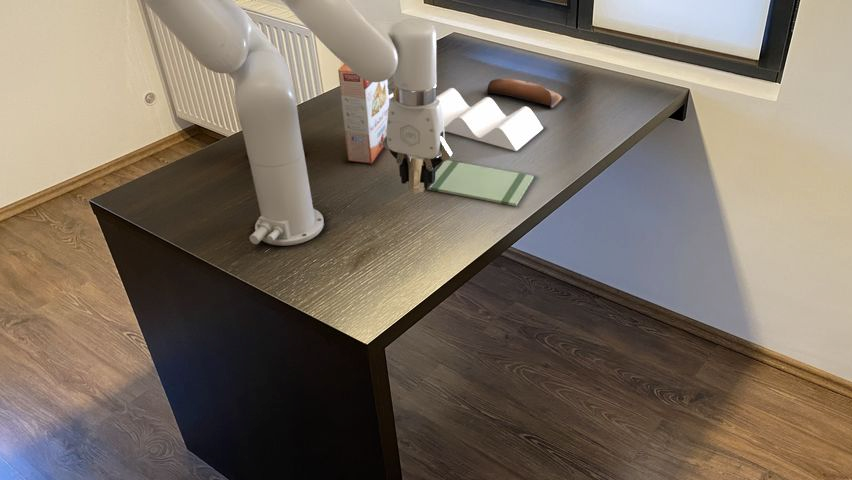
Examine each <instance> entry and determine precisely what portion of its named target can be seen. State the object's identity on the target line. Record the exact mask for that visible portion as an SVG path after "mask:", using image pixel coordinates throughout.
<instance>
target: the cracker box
mask: <svg viewBox="0 0 852 480" xmlns="http://www.w3.org/2000/svg"><path fill="white" fill-rule="evenodd" d="M337 71H338V81H339V89H340V91H339V92H340V98H341V99H340V100H341V109H342V117H343V118H342V119H343V125H344V126H343V127H344V135H345V144H346V153H347V160H348V162H356V163H363V164H370V165H371V164H373V163H374V161H375V160H376V158H377V157H378V155H379V154H380V153H381V151H382V150H383V149H384V148H385V147H384V146H383V145H382V142H383V140H384V139H385V137H386V136H387V118H388V109H389V95H390V94H389V89H388V87H387V85H388V82H389V81H388V80H389V79H387V80H385V81H382V82H370V81H366V80H364V79H362V78H361V77H359V76H358V75H357V74H356V73H354V72H353V71H352V70H351V69H350V68H349V67H348V66H346V65H345V64H344V63H342V65H341V66H340V67H339V68H338V70H337Z"/></svg>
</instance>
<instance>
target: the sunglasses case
mask: <svg viewBox="0 0 852 480" xmlns="http://www.w3.org/2000/svg"><path fill="white" fill-rule="evenodd" d="M486 92H487V94H494V95H500V96H506V97H507V96H510V97H513V98H516V99H520V100H526V101H529V102H533V103H538V104H542V105H545V106H549V107H550V108H551V109H553V108H554V107H556V106H557V105H558V104H559V103H560V101H562V99H563V96H562V95H560V94H559V93H557V92H555V91H553V90H551V89H547V88H546V87H544V86H542V85H540V84H538V83H533V82H530V81H525V80H519V79H515V78H496V79H492V80H490V81H489V82H488V85H487V90H486Z"/></svg>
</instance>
